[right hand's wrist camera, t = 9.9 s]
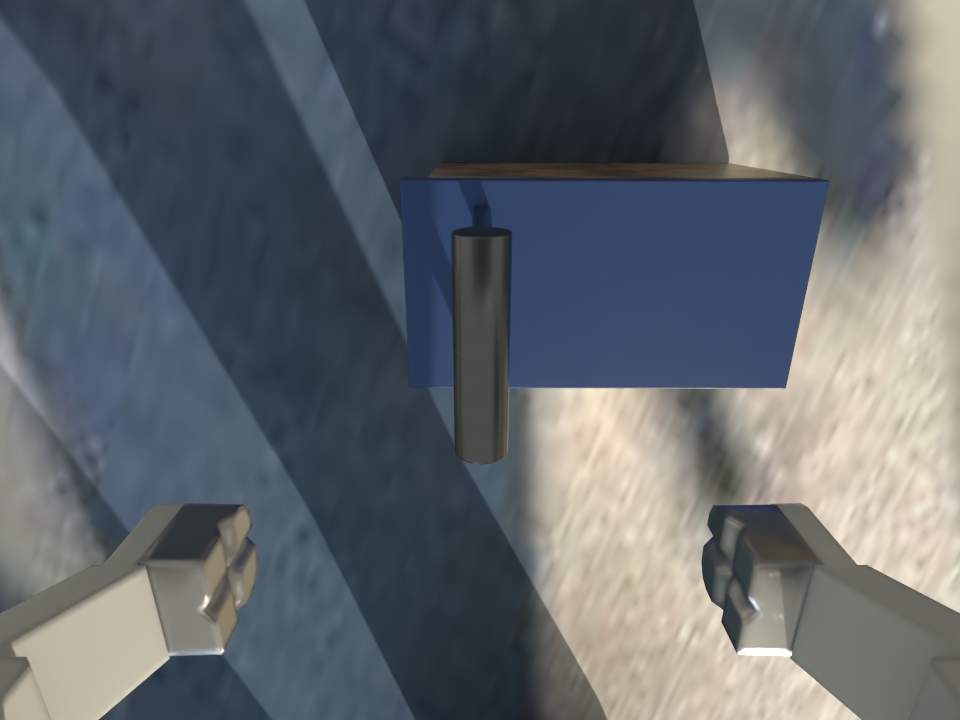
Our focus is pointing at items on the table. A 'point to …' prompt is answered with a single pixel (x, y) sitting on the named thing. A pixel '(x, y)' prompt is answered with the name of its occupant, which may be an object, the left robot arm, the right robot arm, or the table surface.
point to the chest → (602, 170)
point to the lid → (601, 287)
